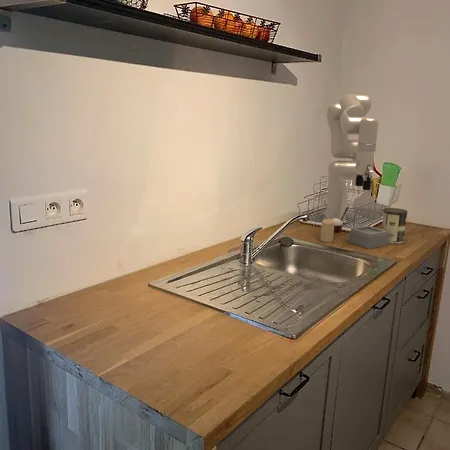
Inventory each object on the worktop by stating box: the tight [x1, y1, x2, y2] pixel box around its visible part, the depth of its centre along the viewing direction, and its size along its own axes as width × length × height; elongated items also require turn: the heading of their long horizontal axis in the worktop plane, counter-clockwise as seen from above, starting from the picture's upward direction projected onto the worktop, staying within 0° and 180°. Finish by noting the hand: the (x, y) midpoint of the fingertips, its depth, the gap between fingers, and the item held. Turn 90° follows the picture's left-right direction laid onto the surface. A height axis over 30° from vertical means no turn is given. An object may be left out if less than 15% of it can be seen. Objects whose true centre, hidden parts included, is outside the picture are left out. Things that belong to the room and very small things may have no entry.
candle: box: [320, 218, 335, 243], centre depth 221 cm, size 6×6×10 cm
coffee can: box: [381, 207, 409, 244], centre depth 224 cm, size 10×10×14 cm
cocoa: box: [332, 206, 349, 233], centre depth 237 cm, size 10×6×12 cm, turn 61°
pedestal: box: [347, 225, 389, 249], centre depth 219 cm, size 12×12×6 cm
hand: (362, 187), depth 215 cm, fingers open, 9 cm apart
